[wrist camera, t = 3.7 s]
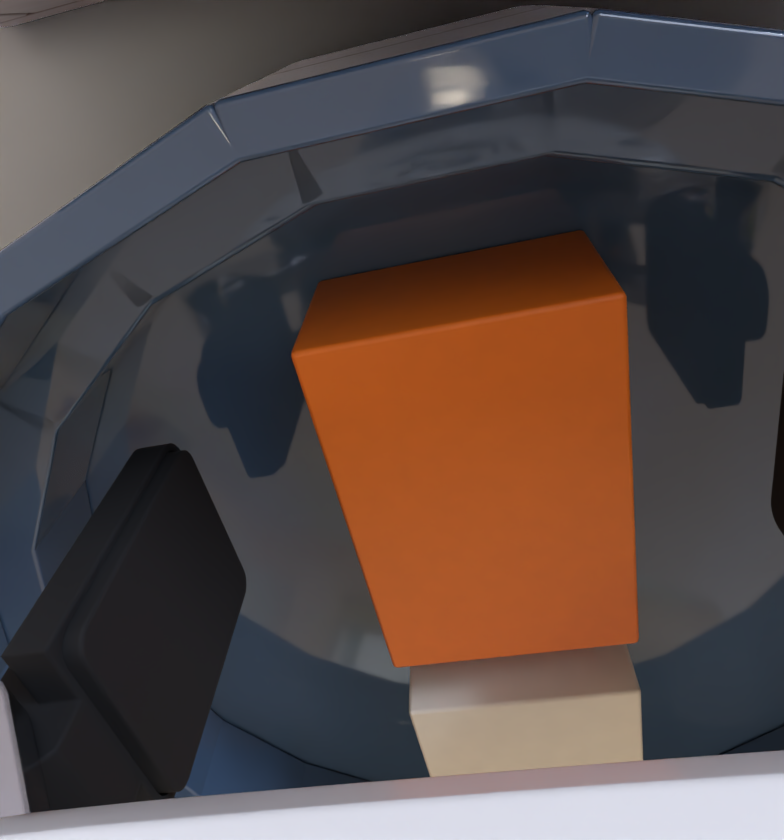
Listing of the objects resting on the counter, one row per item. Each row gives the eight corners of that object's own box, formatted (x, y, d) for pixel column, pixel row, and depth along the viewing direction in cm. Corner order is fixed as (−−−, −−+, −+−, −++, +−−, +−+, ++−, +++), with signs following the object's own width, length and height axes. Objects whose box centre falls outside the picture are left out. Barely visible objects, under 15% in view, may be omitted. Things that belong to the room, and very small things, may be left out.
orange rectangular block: (584, 227, 10) (627, 292, 7) (604, 537, 13) (639, 645, 11) (317, 279, 10) (287, 353, 8) (398, 563, 13) (393, 669, 11)
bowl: (1241, -178, 7) (2080, -357, 4) (917, 773, 17) (1055, 993, 13) (-192, 182, 10) (-554, 289, 7) (225, 821, 20) (178, 1013, 16)
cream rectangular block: (608, 581, 13) (641, 692, 11) (619, 754, 16) (647, 867, 14) (410, 604, 14) (407, 713, 12) (458, 767, 17) (462, 876, 15)
